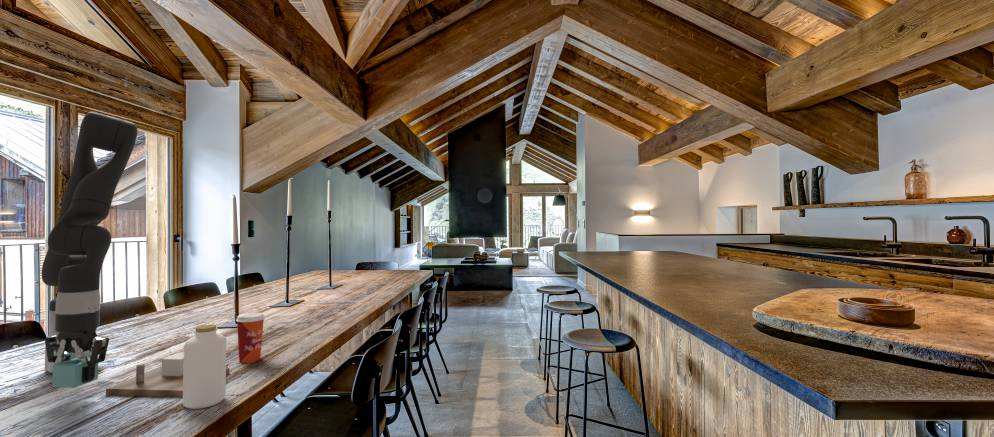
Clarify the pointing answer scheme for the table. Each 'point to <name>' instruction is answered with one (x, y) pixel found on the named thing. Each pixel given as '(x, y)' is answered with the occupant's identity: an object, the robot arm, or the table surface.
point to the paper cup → (250, 336)
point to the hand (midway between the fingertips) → (75, 380)
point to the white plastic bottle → (204, 368)
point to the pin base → (150, 384)
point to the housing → (173, 365)
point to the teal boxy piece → (70, 373)
